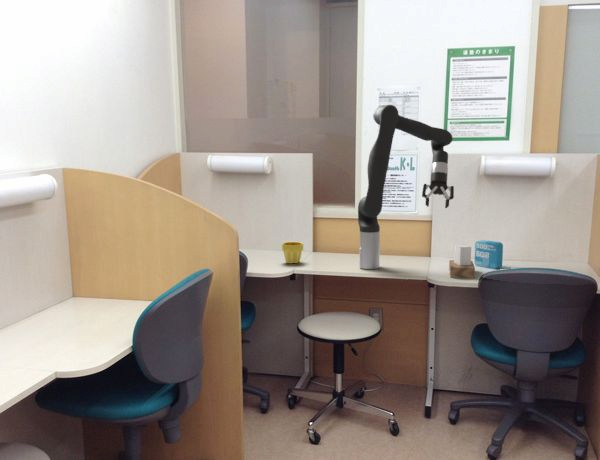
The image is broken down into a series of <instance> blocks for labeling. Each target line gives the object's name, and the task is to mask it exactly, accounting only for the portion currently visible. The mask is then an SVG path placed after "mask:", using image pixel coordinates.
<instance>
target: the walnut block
mask: <svg viewBox="0 0 600 460" xmlns="http://www.w3.org/2000/svg"><path fill="white" fill-rule="evenodd" d="M448 263H449V264H448V271H450V272H449V276H450V278H451V279H470V280H471V279H472V280H473V279H475V277H476V276H475V274H476V273H475V272H476V267H475V263H473V260H471V265H458V264H456V263H454V259H449V261H448Z"/></svg>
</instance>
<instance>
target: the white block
mask: <svg viewBox="0 0 600 460" xmlns="http://www.w3.org/2000/svg"><path fill="white" fill-rule="evenodd" d="M453 257H454V259H453V260H454V263H456V264H458V265H471V261H472V246H470V245H467V244H455V245H454V255H453Z"/></svg>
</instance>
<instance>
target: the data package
mask: <svg viewBox="0 0 600 460" xmlns="http://www.w3.org/2000/svg"><path fill="white" fill-rule="evenodd" d="M503 257H504V245H503V243H502V242H500V241H492V240H486V239H481V240H476V241H475V243H474V263H473V264H474V266H476V267H479V268H480V267H481V268H485V269H486V268H487V269H492V270H498V269H501V268H502V266H503V259H504V258H503Z"/></svg>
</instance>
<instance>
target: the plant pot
mask: <svg viewBox="0 0 600 460" xmlns="http://www.w3.org/2000/svg"><path fill="white" fill-rule="evenodd" d="M281 249H282V251H283V255H284V260H285V263H286V262H287V263H298V262H299V263H300V262H301V258H302V251H304V243H303V242H300V241H285V242H282V243H281ZM287 263H286V264H287ZM299 263H298V264H299Z"/></svg>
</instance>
